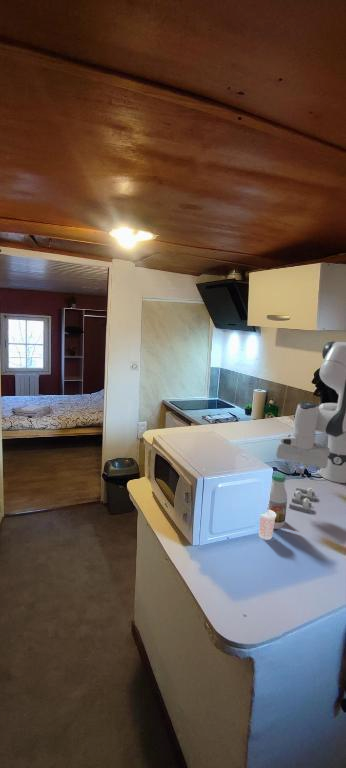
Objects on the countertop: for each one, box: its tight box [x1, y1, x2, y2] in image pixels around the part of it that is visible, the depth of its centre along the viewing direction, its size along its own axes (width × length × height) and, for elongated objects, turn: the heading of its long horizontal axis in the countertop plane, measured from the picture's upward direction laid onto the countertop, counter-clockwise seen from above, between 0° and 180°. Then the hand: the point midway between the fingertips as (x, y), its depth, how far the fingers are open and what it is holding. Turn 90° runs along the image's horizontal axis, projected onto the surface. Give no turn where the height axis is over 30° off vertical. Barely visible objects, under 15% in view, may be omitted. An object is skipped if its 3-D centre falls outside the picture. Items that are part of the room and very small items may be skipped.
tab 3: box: [306, 486, 314, 497], centre depth 162 cm, size 3×2×4 cm, turn 152°
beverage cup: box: [258, 500, 276, 541], centre depth 131 cm, size 6×6×14 cm
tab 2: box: [302, 498, 310, 509], centre depth 151 cm, size 3×2×4 cm, turn 153°
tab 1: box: [294, 490, 302, 500], centre depth 158 cm, size 3×2×4 cm, turn 153°
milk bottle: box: [269, 472, 288, 530], centre depth 138 cm, size 8×8×20 cm
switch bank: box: [288, 487, 316, 514], centre depth 158 cm, size 24×9×2 cm, turn 153°
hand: (299, 472), depth 152 cm, fingers closed
